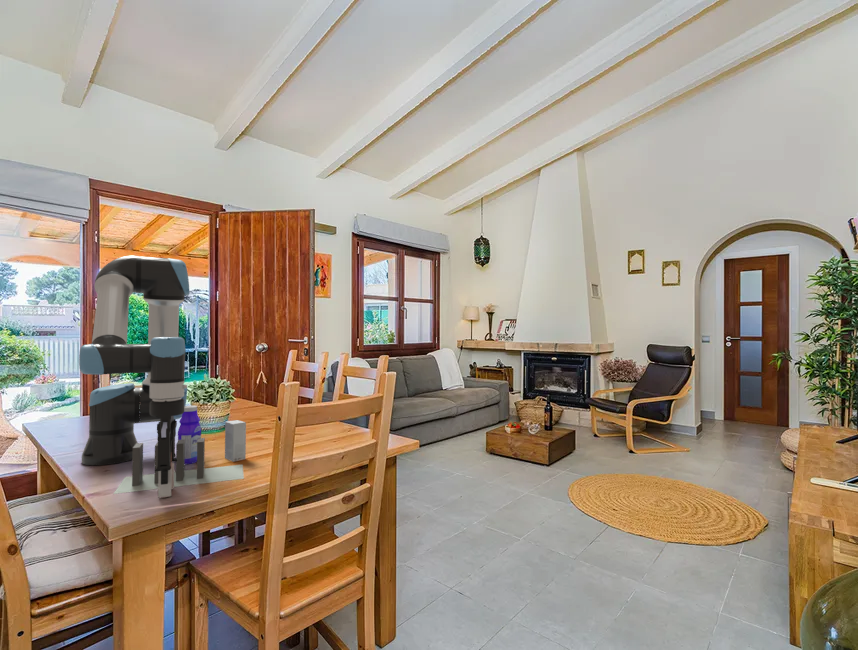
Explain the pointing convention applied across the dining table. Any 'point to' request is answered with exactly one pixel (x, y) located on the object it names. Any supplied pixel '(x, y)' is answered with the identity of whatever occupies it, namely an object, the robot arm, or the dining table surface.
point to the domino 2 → (156, 464)
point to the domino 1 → (137, 464)
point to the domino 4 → (200, 457)
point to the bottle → (190, 433)
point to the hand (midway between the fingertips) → (166, 492)
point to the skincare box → (235, 440)
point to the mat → (185, 478)
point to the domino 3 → (180, 460)
